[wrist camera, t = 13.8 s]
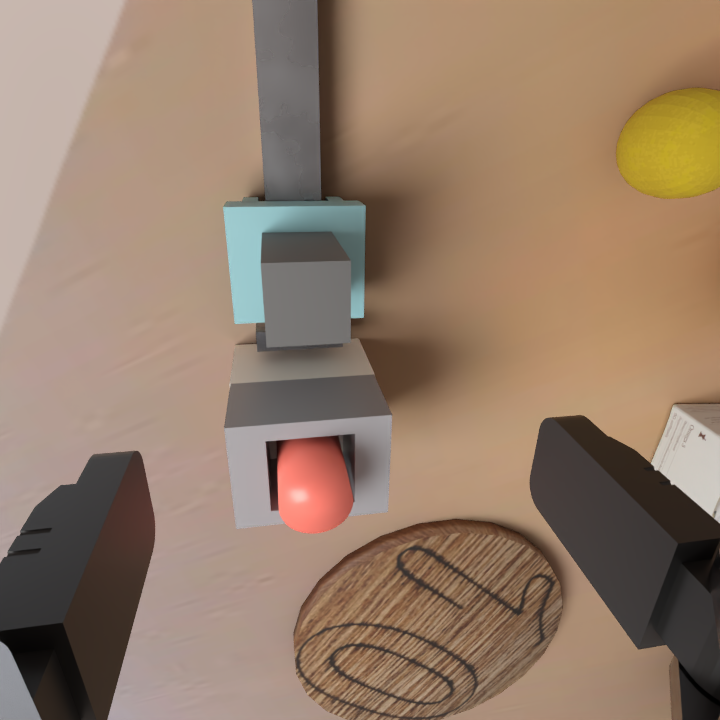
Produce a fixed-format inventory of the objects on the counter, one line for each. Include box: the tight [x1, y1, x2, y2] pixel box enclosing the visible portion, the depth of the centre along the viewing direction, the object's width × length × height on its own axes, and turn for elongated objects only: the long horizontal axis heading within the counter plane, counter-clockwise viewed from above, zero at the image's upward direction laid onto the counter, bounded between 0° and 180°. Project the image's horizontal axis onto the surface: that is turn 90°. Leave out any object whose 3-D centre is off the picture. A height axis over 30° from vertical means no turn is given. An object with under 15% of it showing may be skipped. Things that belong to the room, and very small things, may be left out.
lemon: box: [616, 88, 720, 199], centre depth 27 cm, size 6×6×8 cm
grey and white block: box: [224, 338, 392, 529], centre depth 29 cm, size 6×8×10 cm
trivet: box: [294, 519, 563, 720], centre depth 46 cm, size 25×25×2 cm
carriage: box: [223, 197, 366, 348], centre depth 25 cm, size 6×7×11 cm
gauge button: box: [276, 435, 353, 533], centre depth 25 cm, size 3×3×6 cm
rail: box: [252, 0, 343, 352], centre depth 26 cm, size 20×5×3 cm, turn 179°
